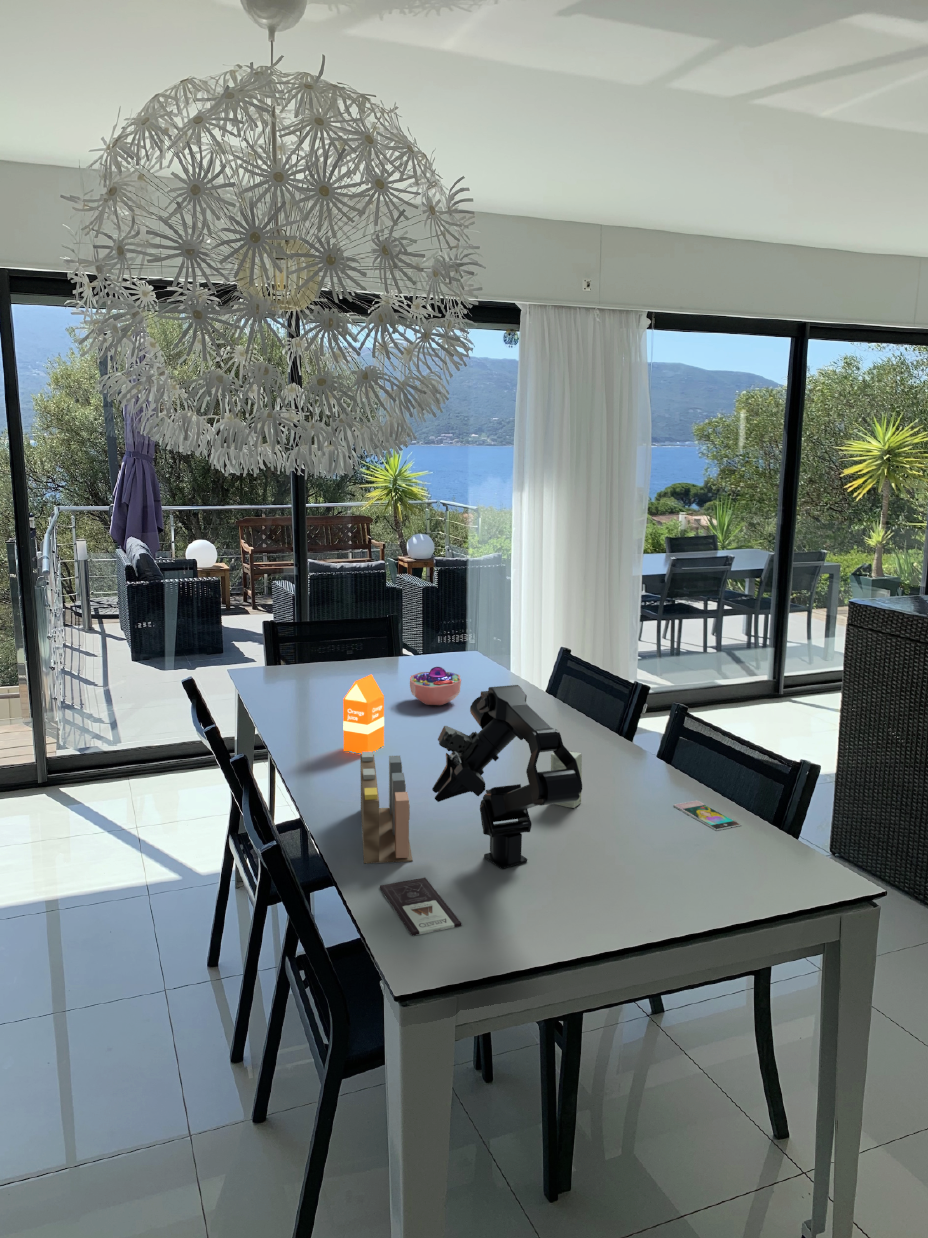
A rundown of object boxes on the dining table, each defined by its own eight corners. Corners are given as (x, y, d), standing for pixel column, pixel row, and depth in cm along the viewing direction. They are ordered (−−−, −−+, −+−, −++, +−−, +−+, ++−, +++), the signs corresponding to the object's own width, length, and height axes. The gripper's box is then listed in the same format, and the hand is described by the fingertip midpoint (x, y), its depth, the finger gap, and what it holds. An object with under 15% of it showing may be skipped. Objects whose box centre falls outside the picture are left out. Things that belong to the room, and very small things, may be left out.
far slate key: (400, 806, 205) (401, 755, 203) (402, 813, 201) (402, 762, 198) (388, 806, 205) (389, 755, 203) (390, 814, 200) (390, 762, 198)
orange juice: (384, 746, 248) (384, 675, 244) (368, 756, 240) (367, 683, 236) (360, 742, 251) (359, 672, 248) (342, 751, 243) (342, 679, 240)
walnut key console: (403, 808, 206) (403, 749, 203) (412, 861, 179) (412, 794, 177) (360, 810, 204) (360, 750, 202) (363, 863, 178) (363, 796, 175)
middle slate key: (404, 825, 194) (404, 772, 192) (405, 834, 190) (406, 780, 188) (391, 826, 194) (391, 773, 192) (392, 835, 190) (393, 780, 187)
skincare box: (581, 803, 210) (583, 753, 208) (573, 809, 207) (575, 758, 204) (556, 797, 214) (558, 748, 211) (548, 803, 210) (550, 753, 208)
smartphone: (716, 829, 196) (672, 804, 209) (716, 832, 196) (672, 807, 209) (741, 824, 199) (697, 800, 212) (741, 827, 199) (697, 803, 212)
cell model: (399, 709, 284) (399, 673, 282) (421, 693, 303) (421, 660, 301) (450, 714, 279) (451, 678, 277) (469, 697, 298) (470, 664, 296)
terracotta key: (408, 847, 184) (408, 791, 181) (409, 857, 179) (410, 800, 177) (394, 848, 183) (394, 792, 181) (396, 858, 179) (396, 800, 177)
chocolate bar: (425, 877, 172) (461, 923, 155) (425, 882, 172) (461, 928, 155) (379, 885, 168) (411, 933, 152) (379, 890, 168) (411, 938, 152)
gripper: (456, 701, 187) (403, 753, 187) (469, 728, 169) (409, 786, 169) (493, 736, 189) (440, 788, 190) (509, 767, 171) (451, 824, 172)
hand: (434, 795), depth 180 cm, fingers open, 4 cm apart
